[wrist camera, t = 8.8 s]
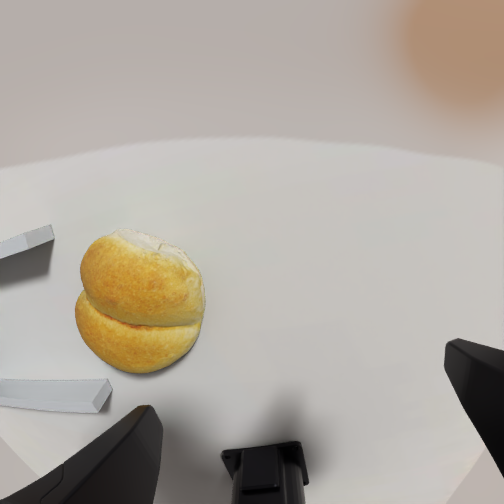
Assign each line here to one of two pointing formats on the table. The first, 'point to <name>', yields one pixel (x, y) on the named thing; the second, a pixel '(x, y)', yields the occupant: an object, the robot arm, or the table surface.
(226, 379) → the table surface
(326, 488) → the table surface
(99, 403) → the u-shaped frame
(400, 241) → the table surface
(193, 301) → the bread roll
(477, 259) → the table surface
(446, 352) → the robot arm
